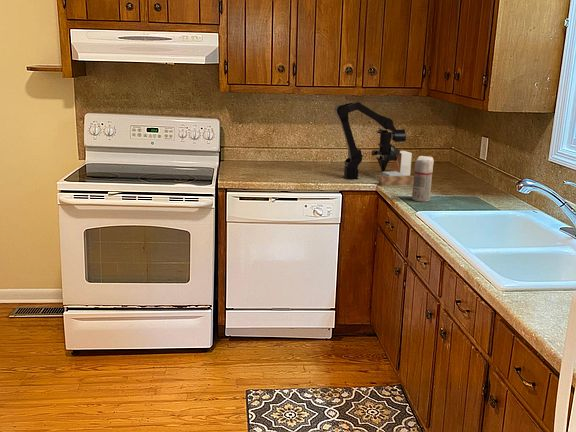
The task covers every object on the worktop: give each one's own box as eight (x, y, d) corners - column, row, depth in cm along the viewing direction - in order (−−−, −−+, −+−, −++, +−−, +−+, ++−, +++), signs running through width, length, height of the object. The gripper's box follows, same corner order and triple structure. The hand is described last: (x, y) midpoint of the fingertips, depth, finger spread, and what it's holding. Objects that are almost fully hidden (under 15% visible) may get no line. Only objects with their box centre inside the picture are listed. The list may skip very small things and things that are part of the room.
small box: (392, 174, 340) (394, 150, 337) (403, 174, 342) (405, 150, 339) (399, 177, 333) (401, 153, 329) (410, 176, 335) (412, 152, 331)
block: (388, 184, 315) (389, 174, 314) (381, 181, 322) (382, 171, 321) (402, 183, 317) (403, 174, 316) (395, 180, 325) (396, 171, 323)
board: (381, 185, 310) (381, 177, 309) (378, 184, 313) (379, 176, 312) (413, 184, 316) (414, 176, 315) (410, 183, 319) (411, 175, 318)
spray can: (433, 202, 279) (437, 158, 274) (416, 202, 277) (419, 158, 272) (425, 197, 287) (429, 154, 282) (408, 198, 285) (412, 155, 280)
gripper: (407, 144, 318) (405, 174, 322) (390, 139, 335) (388, 167, 339) (388, 144, 314) (385, 175, 318) (371, 139, 331) (370, 168, 335)
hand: (383, 171), depth 328 cm, fingers closed
